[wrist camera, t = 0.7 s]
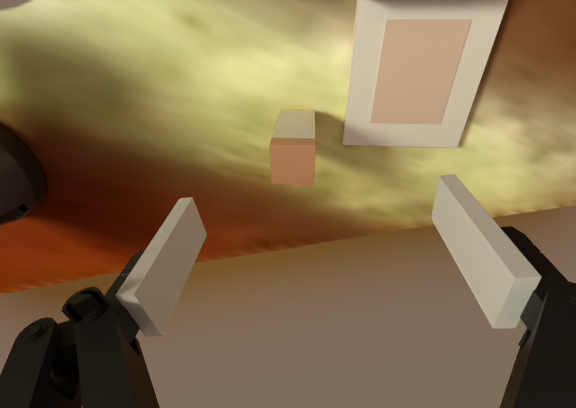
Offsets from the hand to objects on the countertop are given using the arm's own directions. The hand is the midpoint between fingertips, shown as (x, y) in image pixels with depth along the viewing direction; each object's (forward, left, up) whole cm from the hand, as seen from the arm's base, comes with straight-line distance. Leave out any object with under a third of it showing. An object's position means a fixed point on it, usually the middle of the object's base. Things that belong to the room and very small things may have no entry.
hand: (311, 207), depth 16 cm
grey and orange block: (-1, -2, -18) cm, 18 cm away
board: (+10, +7, -18) cm, 22 cm away
